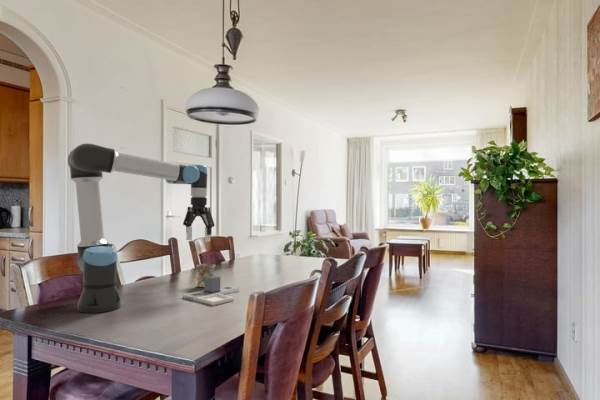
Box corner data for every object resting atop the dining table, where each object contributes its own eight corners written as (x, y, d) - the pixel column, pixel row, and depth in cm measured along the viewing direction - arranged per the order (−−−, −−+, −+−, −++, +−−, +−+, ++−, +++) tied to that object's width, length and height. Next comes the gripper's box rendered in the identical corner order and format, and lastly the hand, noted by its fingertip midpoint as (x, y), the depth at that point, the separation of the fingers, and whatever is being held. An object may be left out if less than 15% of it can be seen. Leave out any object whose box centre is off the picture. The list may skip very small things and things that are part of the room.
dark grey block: (211, 296, 178) (211, 278, 178) (204, 294, 182) (204, 277, 182) (220, 294, 182) (220, 276, 182) (213, 292, 185) (213, 275, 185)
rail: (193, 301, 169) (193, 297, 169) (182, 298, 174) (182, 294, 174) (239, 291, 190) (239, 287, 190) (228, 288, 195) (228, 285, 195)
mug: (217, 284, 203) (217, 263, 204) (213, 288, 194) (213, 266, 194) (193, 284, 203) (193, 263, 204) (188, 288, 194) (188, 266, 194)
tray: (212, 305, 162) (213, 301, 162) (196, 301, 169) (196, 297, 169) (233, 300, 171) (233, 297, 171) (216, 296, 178) (216, 293, 178)
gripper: (222, 197, 189) (221, 242, 189) (188, 196, 204) (188, 238, 204) (210, 196, 183) (209, 243, 183) (176, 196, 198) (175, 239, 198)
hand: (198, 240), depth 193 cm, fingers open, 13 cm apart
